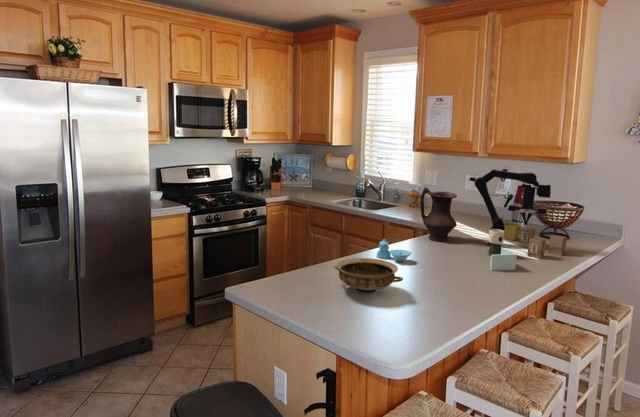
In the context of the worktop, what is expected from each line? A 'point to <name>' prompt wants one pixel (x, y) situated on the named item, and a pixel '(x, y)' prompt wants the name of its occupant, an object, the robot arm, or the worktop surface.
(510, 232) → the flower pot
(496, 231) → the character mug
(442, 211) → the jug
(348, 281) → the ceramic bowl
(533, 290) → the worktop surface
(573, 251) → the worktop surface
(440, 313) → the worktop surface
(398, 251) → the blue jar and dish
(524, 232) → the numbered block
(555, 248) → the plain block
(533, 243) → the numbered block
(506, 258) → the l-shaped corner panel
